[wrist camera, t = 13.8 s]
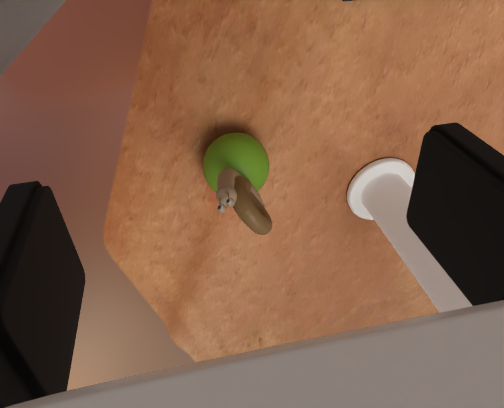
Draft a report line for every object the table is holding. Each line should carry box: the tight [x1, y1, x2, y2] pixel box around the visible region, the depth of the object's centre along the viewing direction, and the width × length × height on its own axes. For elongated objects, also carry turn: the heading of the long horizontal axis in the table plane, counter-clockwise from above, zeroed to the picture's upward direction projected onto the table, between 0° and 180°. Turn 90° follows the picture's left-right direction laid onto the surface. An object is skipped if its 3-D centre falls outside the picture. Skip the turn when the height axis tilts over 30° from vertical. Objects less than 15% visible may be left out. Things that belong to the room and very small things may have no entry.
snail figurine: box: [203, 133, 272, 235], centre depth 31 cm, size 5×6×12 cm
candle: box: [347, 158, 473, 313], centre depth 32 cm, size 7×7×25 cm
